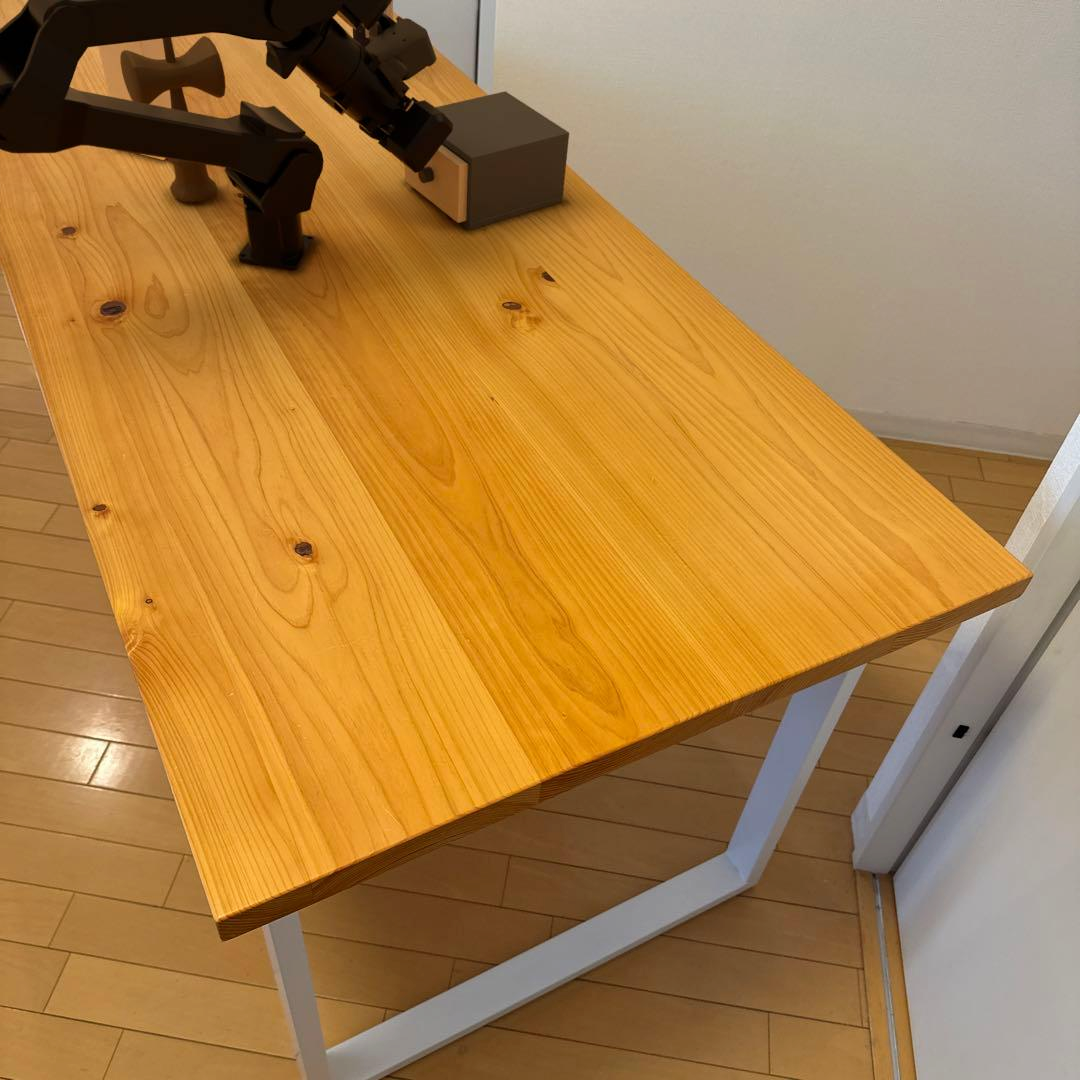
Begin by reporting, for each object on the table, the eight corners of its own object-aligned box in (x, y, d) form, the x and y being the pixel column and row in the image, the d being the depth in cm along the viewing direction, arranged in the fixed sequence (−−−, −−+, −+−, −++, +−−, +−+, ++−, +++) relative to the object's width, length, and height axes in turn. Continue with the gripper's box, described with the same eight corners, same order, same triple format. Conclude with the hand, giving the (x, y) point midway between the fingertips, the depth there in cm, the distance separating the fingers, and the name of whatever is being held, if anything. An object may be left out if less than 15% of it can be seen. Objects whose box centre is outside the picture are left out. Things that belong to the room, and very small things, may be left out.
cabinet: (469, 230, 115) (471, 158, 109) (410, 183, 122) (409, 112, 116) (562, 202, 121) (569, 132, 115) (501, 159, 128) (505, 91, 122)
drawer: (449, 225, 114) (449, 168, 109) (395, 183, 120) (394, 126, 115) (545, 197, 120) (549, 142, 115) (490, 158, 126) (492, 103, 121)
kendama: (245, 197, 116) (219, 13, 102) (162, 215, 112) (123, 25, 98) (225, 175, 119) (197, -7, 105) (144, 191, 115) (103, 4, 101)
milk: (163, 161, 121) (123, -42, 105) (120, 149, 122) (74, -53, 106) (192, 141, 125) (158, -57, 109) (150, 130, 126) (110, -68, 110)
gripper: (440, 30, 94) (523, 128, 107) (340, -33, 103) (428, 64, 117) (367, 127, 95) (458, 212, 109) (276, 57, 105) (369, 142, 118)
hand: (428, 153), depth 113 cm, fingers closed, pressing on drawer
